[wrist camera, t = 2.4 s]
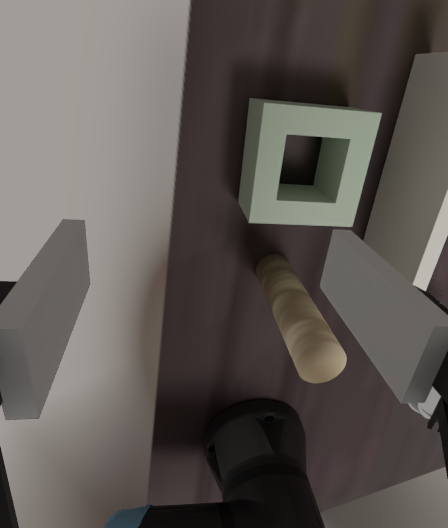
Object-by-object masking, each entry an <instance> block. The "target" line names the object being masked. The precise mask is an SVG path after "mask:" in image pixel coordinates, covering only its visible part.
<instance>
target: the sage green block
mask: <svg viewBox="0 0 448 528" xmlns="http://www.w3.org/2000/svg"><path fill="white" fill-rule="evenodd" d="M381 116H382V113H378V112H373V111H368V110H362V109H357V108H352V107H342V106H331V105H320V104H309V103H299V102H288V101H277V100H266V99H255V98H250V99H249V108H248V117H247V126H246V136H245V145H244V154H243V163H242V172H241V181H240V190H239V200H238V203H239V205H240V207H241V209H242V211H243V212H244V214H245V216H246V218H247V220H248V222H249V223H265V224H292V225H318V226H345V227H352V226H353V222H354V219H355V215H356V211H357V207H358V203H359V200H360V196H361V192H362V188H363V184H364V181H365V177H366V173H367V169H368V165H369V161H370V158H371V154H372V150H373V146H374V142H375V139H376V135H377V131H378V127H379V123H380V120H381ZM287 134H290V135H303V136H316V137H323V139H322V144H321V149H320V154H319V159H318V164H317V169H316V174H315V179H314V184H313V186H312V185H294V184H279V180H280V173H281V167H282V160H283V154H284V148H285V141H286V135H287Z"/></svg>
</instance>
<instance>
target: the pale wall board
mask: <svg viewBox="0 0 448 528" xmlns="http://www.w3.org/2000/svg"><path fill="white" fill-rule="evenodd" d="M447 235H448V52H438V53H425V54H416V55H415V58H414V62H413V65H412V69H411V72H410V76H409V79H408V83H407V87H406V90H405V94H404V97H403V101H402V104H401V108H400V111H399V115H398V119H397V122H396V126H395V129H394V133H393V136H392V140H391V143H390V147H389V151H388V154H387V158H386V161H385V165H384V168H383V172H382V175H381V179H380V183H379V186H378V190H377V193H376V197H375V200H374V204H373V207H372V211H371V214H370V218H369V222H368V225H367V229H366V232H365V236H364V239H363V242H365V243H366V244H367V245H368V246H369V247H370V248H371V249H373V250H374V251H375V252H376V253H377V254H378V255H379V256H381V257H382V258H383V259H384V260H385V261H386V262H387V263H389V264H390V265H391V266H392V267H393V268H394V269H395V270H397V271H398V272H399V273H400V274H401V275H402V276H403V277H405V278H406V279H407V280H408V281H409V282H410V283H411V284H413V285H414V286H416V287H418V288H420V289H422V290H424V291H426V289H427V286H428V284H429V281H430V279H431V276H432V274H433V271H434V269H435V266H436V263H437V261H438V258H439V256H440V253H441V251H442V248H443V246H444V243H445V240H446V238H447Z"/></svg>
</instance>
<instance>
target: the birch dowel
mask: <svg viewBox="0 0 448 528" xmlns="http://www.w3.org/2000/svg"><path fill="white" fill-rule="evenodd" d="M256 275H257V277H258V280H259V282H260V284H261V287H262V289H263V291H264V294H265V296H266V298H267V301H268V303H269V305H270V308H271V310H272V312H273V315H274V317H275V320H276V322H277V324H278V327H279V329H280V331H281V334H282V336H283V338H284V341H285V343H286V345H287V348H288V350H289V352H290V355H291V357H292V359H293V362H294V364H295V366H296V369H297V371H298V373H299V375H300V377H301V378H302V379H303V380H305V381H307V382H310V383H323V382H327V381H329V380H331V379H333V378H335V377H336V376H338V375H339V374H340V373H341V372H342V370H343V369H344V367H345V365H346V361H347V357H346V354H345V352H344V350H343V349H342V347H341V345H340V344H339V342H338V341H337V339H336V337H335V336H334V334H333V333H332V331H331V329H330V328H329V326H328V325H327V323H326V321H325V320H324V318H323V317H322V315H321V313H320V312H319V310H318V309H317V307H316V305H315V304H314V302H313V301H312V299H311V297H310V296H309V294H308V293H307V291H306V289H305V288H304V286H303V285H302V283H301V281H300V280H299V278H298V277H297V275H296V273H295V272H294V270H293V269H292V267H291V265H290V264H289V262H288V261H287V259H286V258H285V257H284V256H282V255H279V254H270V255H267V256H265V257H264V258H262V259H261V260H260V261H259V263H258V264H257V267H256Z"/></svg>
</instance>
